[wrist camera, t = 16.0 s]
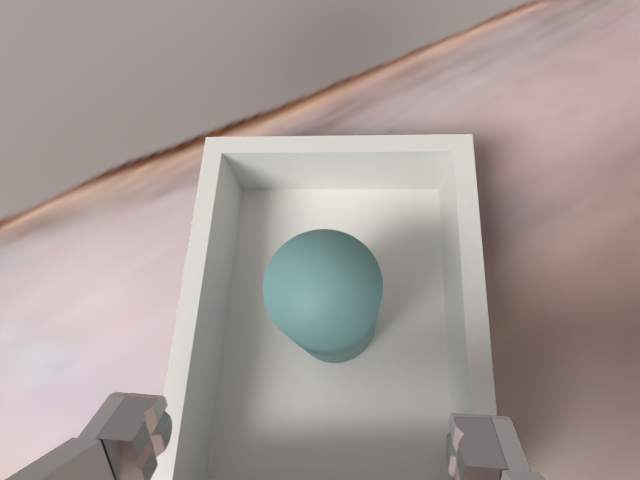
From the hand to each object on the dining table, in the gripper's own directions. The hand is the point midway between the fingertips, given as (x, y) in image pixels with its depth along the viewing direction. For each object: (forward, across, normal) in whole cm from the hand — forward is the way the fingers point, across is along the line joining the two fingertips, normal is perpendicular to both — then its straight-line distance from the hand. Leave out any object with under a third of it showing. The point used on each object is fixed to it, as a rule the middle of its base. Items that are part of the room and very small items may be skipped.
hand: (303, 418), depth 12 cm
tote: (+11, 0, +4) cm, 12 cm away
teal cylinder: (+10, 0, +4) cm, 11 cm away
